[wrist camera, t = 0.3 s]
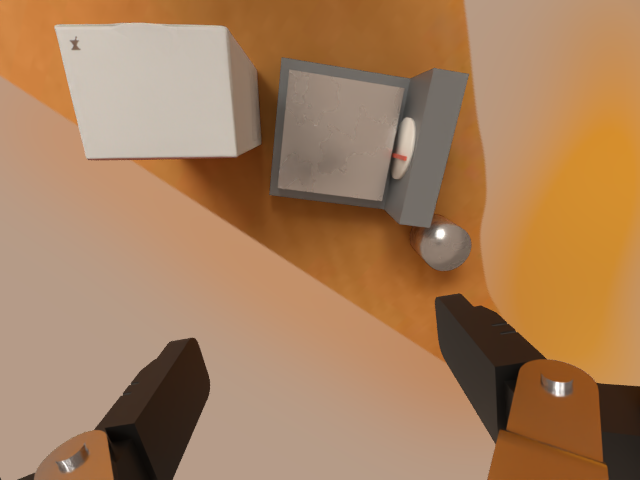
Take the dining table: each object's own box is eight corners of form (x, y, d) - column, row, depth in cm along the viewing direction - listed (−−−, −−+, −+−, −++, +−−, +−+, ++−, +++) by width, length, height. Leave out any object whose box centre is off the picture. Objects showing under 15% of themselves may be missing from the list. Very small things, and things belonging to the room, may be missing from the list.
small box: (172, 147, 29) (81, 161, 17) (160, 68, 27) (47, 19, 15) (264, 146, 30) (239, 159, 18) (259, 68, 28) (227, 20, 15)
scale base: (282, 62, 28) (277, 41, 21) (430, 86, 29) (468, 74, 22) (271, 190, 31) (263, 207, 24) (403, 207, 32) (430, 227, 26)
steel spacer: (415, 211, 33) (430, 222, 29) (456, 217, 33) (477, 228, 29) (405, 252, 34) (418, 268, 30) (445, 257, 35) (463, 273, 31)
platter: (289, 72, 26) (289, 69, 25) (400, 89, 27) (404, 88, 26) (278, 185, 29) (277, 188, 27) (378, 198, 30) (382, 201, 28)
